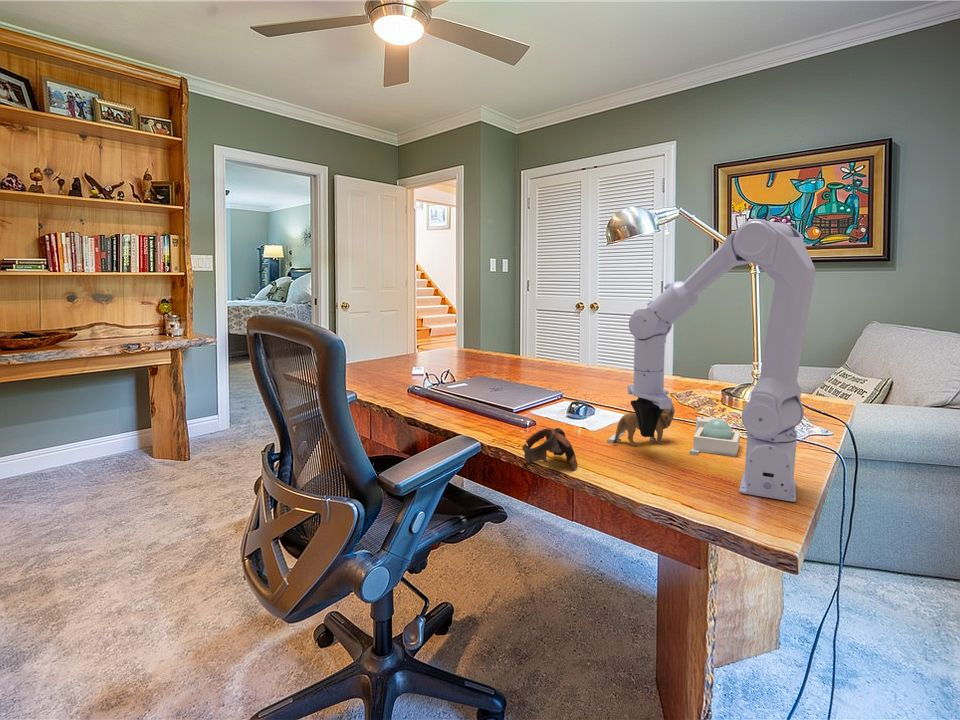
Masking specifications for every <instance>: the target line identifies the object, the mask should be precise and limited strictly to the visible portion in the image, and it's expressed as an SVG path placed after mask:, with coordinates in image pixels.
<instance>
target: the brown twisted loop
mask: <svg viewBox="0 0 960 720" xmlns="http://www.w3.org/2000/svg"><path fill="white" fill-rule="evenodd" d="M544 438H546V440H545V441H544V442H542V443H541V444H539V445H537V446H535V447H533V445H535V444H536V443H537V442H539V441H541V440H543V439H544ZM522 451H523V452H524V454H523V455H524V457H523V458H524V462H525V463H527V464H531V463H534V462H535V463H536V462H539V461H542V462H545V463H547V462H548V461H547V451H548V452H550V453H552V454H553V456H563V455H565V459H566V462H568V461H569V464H570V465H571V470H572V471H573V472H574V471H576V470H577V468H578V461H577V457H576V454H575V452H574V448H573V446H572V443H571V441H569V439H568V438H567V436H566V433H565V431H564V430H563V429H562V428H559V427H556V428H553V427H548V428H543V429H541V430H538V431H537V432H535V433H533V434H532V435H530V437H529V438H527V439H526V440H525V443H524V445H523V446H522Z"/></svg>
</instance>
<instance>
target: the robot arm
mask: <svg viewBox="0 0 960 720" xmlns="http://www.w3.org/2000/svg"><path fill="white" fill-rule="evenodd" d="M748 264H754V265H756V266H758V267H760V268H761V269H762V270H763V271H764V272H765V273H766V274H767V276H769V277H770V278H771V279H772V280H773V281H774V286H773V293H772V299H771V305H770V312H769V317H768V318H769V319H768V324H767V331H766V337H765V341H764V342H765V344H764V348H763V349H764V350H763V356H762V362H761V369H760V373H759V374H760V376H759V378H758V379H757V382H756V383H755V385H754V387H753V388H752V390H751V393H750V398H749V400H748V402H747V403H746V405H745V406H743V407H744V408H743V409H742V411H741V422H742V425H743V427H744V429H745V430H746V448H745V450H746V451H745V463H744V472H743V473H742V476H741V480H740V481H741V482H740V485H739V489H738V490H739V493H740V494H745V495H751V496H756V497H757V496H758V497H763V498H770V499H773V500H774V499H775V500H780V501H786V502H791V503H792V502H793V503H795V502H797V486H796V485H797V483H796V480H795V466H796V455H797V454H796V453H797V440H798V434H797V430H796V427H797V426H799V425H800V424H801V423H802V421H803V419H804V415H805V411H804V410H805V409H804V406H803V404H802V401H801V394H802V389H801V386H800V384H799V382H798V376H799V370H800V365H801V364H800V363H801V357H802V353H803V347H804V341H805V335H806V328H807V322H808V317H809V311H810V306H811V302H812V297H813V296H812V295H813V288H814V284H815V278H816V266H815V265H814V263H813V261H812V258H811V257H810V254H809V252H808V249H807V247H806V246H805V243H804V236H803V234H802V233H801V232H799V231H798V230H797V229H795V228H794V226H791V225H790V224H789V223H786V222H781V221H777V222H774V221H770V220H765V219H759V218H754V219H753V218H752V219H750V220H747V221H744V223H742V224H741V225H740V226H739V227H738V228H737V230H736V231H733V232H732V233H730V234H728V235H727V237H726V238H725V239H724V240H723V241H722V244H721V245H720V246H719V247H717V249H715V251H713V253H712V254H711V255H709V256H708V257H707V259H706V260H705V261H704V262H703V263H702V264H701V265H699V266H698V267H697V269H696V270H695V271H694V272H693V273H692V274H691V275H690V276H689V277H687V279H685V280H684V281H680V280H679V281H678V280H677V281H674V282H670V283H667V284H665V286H663V289H664V291H663V292H662V293H660V294H659V295H658V296H656V298H655V299H653V300H650V301H648V303H646V304H647V306H646V308H639V309H636V310H635V311H633V313H632V314H631V316H630V318H629V321H628V328H629V333H631V334H632V336H633V337H634V338H633V339H634V342H633V343H634V344H633V345H634V347H633V351H634V352H633V353H634V354H633V384H627V394H628V395H631V396H633V397H636V398H637V399H636V400H635V399H634V400H631V401H630V405H631V406H632V409H633V411H634V413H635V414H636V416H637V420H638V424H639V429H640V430H639V429H638V430H639V432H640V436H641V437H643V438H650V437H653V436H654V437H655V434H656V433H655V431H656V430H655V429H656V426H657V423H658V420H659V418H660V416H661V414H662V412H663V411H664V409H671V407H672V403H673V402H672V400H673V399H672V398H671V397H669V396H668V395H669V392H670V391H669V390H666V389H664V384H665V383H664V381H665V355H666V354H665V348H666V347H665V346H666V345H665V344H666V343H667V342H666V341H667V340H666V339H667V336H668V334H670V332H671V330H672V326H673V325H674V324H675V323H676V322H677V321H678V320H680V319H681V318H682V317H683V316H685V315H686V314H687V313H688V312H689V311H690V310H691V309H693V308H694V307H695V306H696V305H697V304H698V297H699V295H700V294H701V292H703V291H704V290H705V289H707V288H708V287H709V286H711V285H712V284H714V283H715V282H716V281H717V280H718V279H720V278H721V277H723V276H724V275H726V274H727V273H728V272H729V271H731V269H733V268H734V267H737V266H743V265H748Z"/></svg>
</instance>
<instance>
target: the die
mask: <svg viewBox="0 0 960 720" xmlns="http://www.w3.org/2000/svg"><path fill="white" fill-rule="evenodd" d="M713 419H717V418H716V417H709V416H696V417H695V433H696V432H697V430H698V429H699V427H704V424H707V423H708V422H709V421H711V420H713Z"/></svg>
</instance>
